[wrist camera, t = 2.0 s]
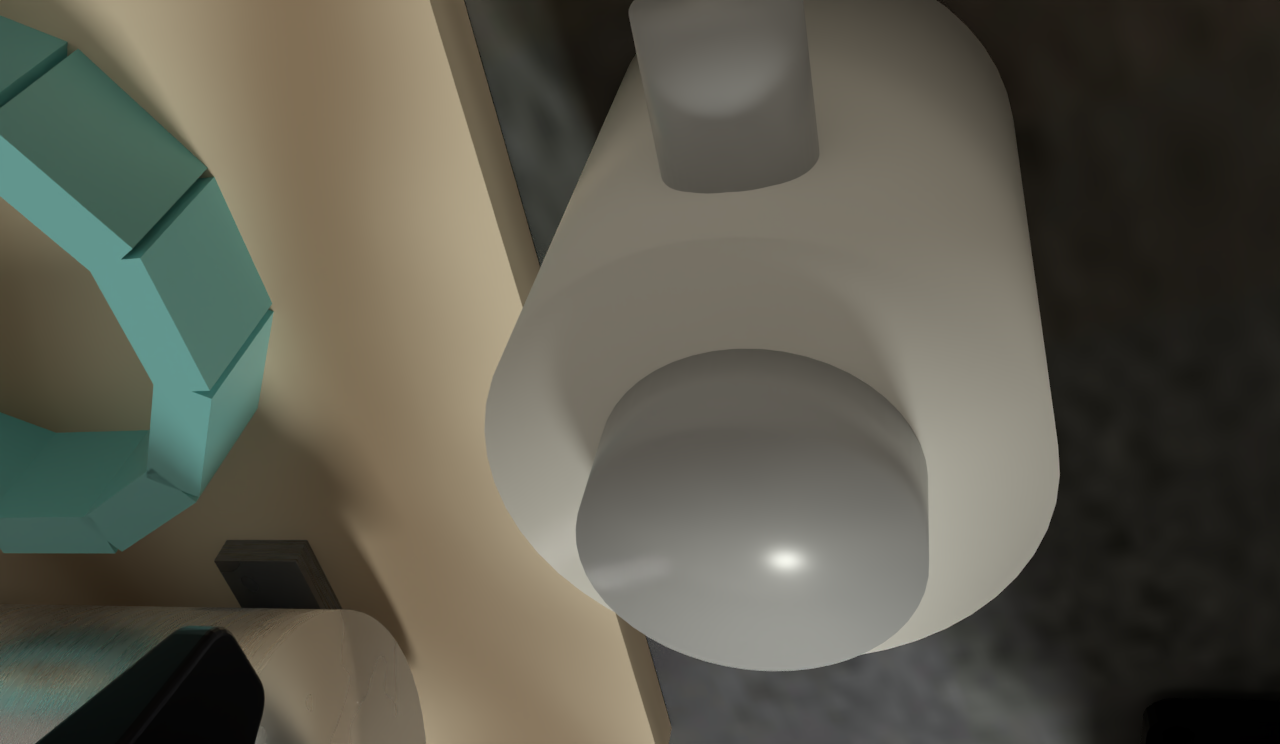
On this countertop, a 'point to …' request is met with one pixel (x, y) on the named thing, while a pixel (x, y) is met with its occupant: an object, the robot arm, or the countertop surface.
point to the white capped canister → (787, 339)
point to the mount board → (335, 352)
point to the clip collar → (125, 302)
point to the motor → (266, 631)
